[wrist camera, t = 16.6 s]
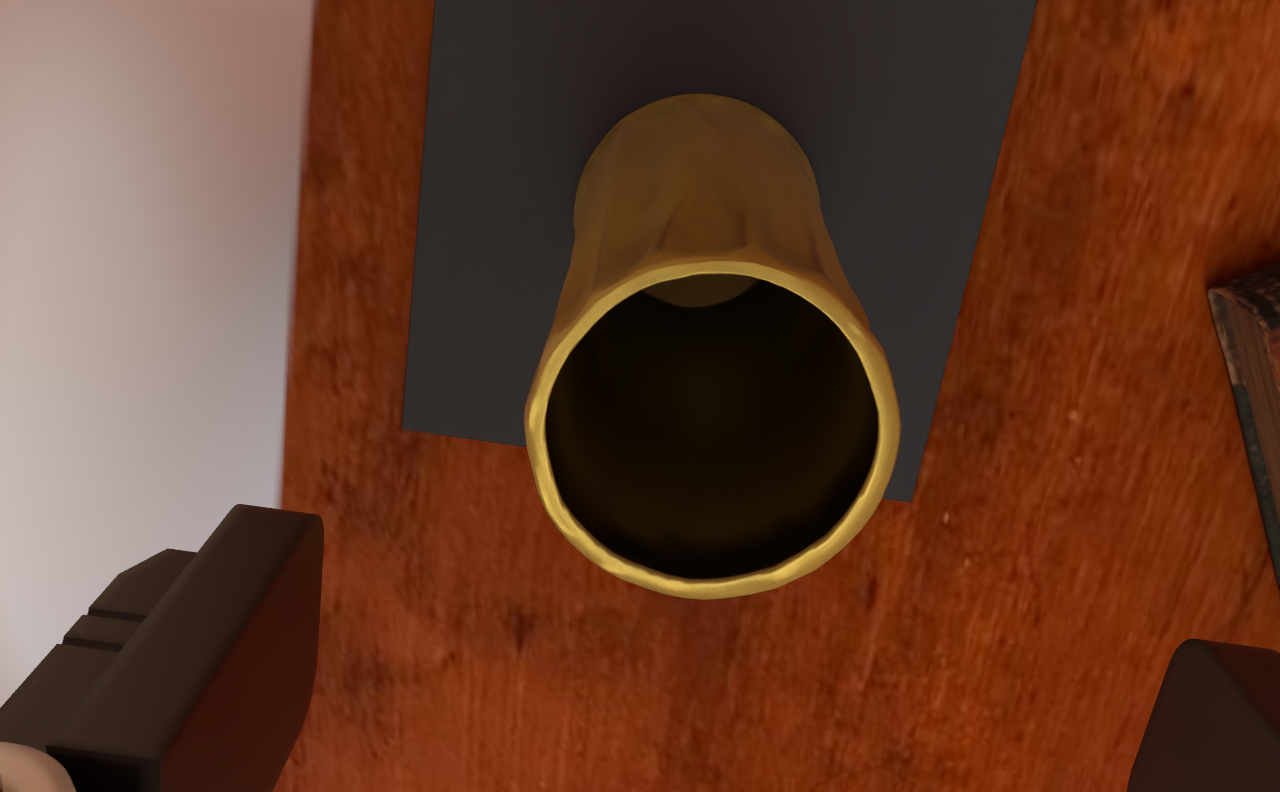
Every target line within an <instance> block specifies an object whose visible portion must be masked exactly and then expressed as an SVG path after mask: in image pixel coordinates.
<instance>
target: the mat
mask: <svg viewBox="0 0 1280 792" xmlns="http://www.w3.org/2000/svg"><path fill="white" fill-rule="evenodd" d="M1036 4H1037V0H435V5H434V18H433V31H432V43H431V56H430V69H429V82H428V95H427V108H426V121H425V133H424V146H423V159H422V172H421V185H420V198H419V211H418V223H417V236H416V249H415V262H414V275H413V288H412V301H411V314H410V326H409V339H408V352H407V365H406V378H405V391H404V404H403V416H402V429H405V430H412V431H419V432H426V433H433V434H440V435H447V436H454V437H461V438H467V439H474V440H481V441H488V442H495V443H502V444H509V445H516V446H523V447H527V445H526V436H525V426H524V412H525V404H526V400H527V397H528V394H529V391H530V388H531V385H532V382H533V379H534V376H535V373H536V370H537V367H538V365H539V362H540V359H541V357H542V353H543V350H544V347H545V344H546V342H547V339H548V336H549V334H550V331H551V328H552V324H553V321H554V317H555V313H556V310H557V306H558V302H559V299H560V296H561V292H562V289H563V285H564V282H565V279H566V276H567V273H568V270H569V268H570V262H571V256H572V251H573V246H574V241H575V230H574V224H573V218H574V205H575V199H576V192H577V188H578V184H579V181H580V177H581V174H582V172H583V170H584V168H585V165H586V163H587V161H588V160H589V158H590V157H591V155H592V154H593V152H594V151H595V149H596V148H597V146H598V145H599V144H600V142H601V141H602V140H603V138H604V137H605V136H606V135H607V134H608V132H609V131H610V130H611V129H612V128H613V127H614V126H615V125H616V124H617V123H618V122H619V121H620V120H622V119H623V118H624V117H625V116H627V115H629V114H631V113H632V112H634V111H636V110H638V109H640V108H642V107H644V106H646V105H648V104H650V103H653V102H655V101H658V100H660V99H664V98H668V97H672V96H677V95H683V94H696V93H699V94H713V95H720V96H726V97H730V98H734V99H737V100H740V101H743V102H746V103H748V104H750V105H752V106H755V107H757V108H758V109H760V110H762V111H763V112H765V113H767V114H768V115H769V116H771V117H772V118H773V119H775V120H776V121H777V122H778V123H780V124H781V125H782V126H783V127H784V128H785V129H786V130H787V131H788V132H789V133H790V135H791V136H792V137H793V138H794V139H795V140H796V142H797V143H798V144H799V146H800V147H801V149H802V150H803V152H804V153H805V155H806V156H807V158H808V161H809V163H810V165H811V167H812V170H813V173H814V175H815V179H816V183H817V187H818V192H819V197H820V206H821V212H822V216H823V219H824V223H825V226H826V229H827V232H828V234H829V237H830V239H831V241H832V243H833V245H834V247H835V251H836V254H837V257H838V260H839V263H840V266H841V268H842V270H843V273H844V275H845V277H846V279H847V281H848V283H849V285H850V287H851V289H852V290H853V292H854V293H855V295H856V296H857V298H858V300H859V301H860V303H861V305H862V307H863V310H864V312H865V314H866V316H867V319H868V322H869V327H870V332H871V333H872V334H873V335H874V336H875V337H876V339H877V340H878V342H879V343H880V345H881V346H882V348H883V349H884V352H885V355H886V358H887V361H888V365H889V368H890V371H891V374H892V378H893V382H894V386H895V391H896V395H897V400H898V405H899V410H900V419H901V434H900V444H899V449H898V454H897V458H896V462H895V465H894V468H893V472H892V475H891V478H890V480H889V483H888V485H887V488H886V490H885V492H884V495H883V497H882V498H883V499H890V500H897V501H904V502H911V501H912V497H913V494H914V490H915V486H916V482H917V478H918V474H919V470H920V466H921V462H922V458H923V454H924V450H925V446H926V442H927V438H928V434H929V430H930V426H931V422H932V418H933V414H934V410H935V406H936V402H937V398H938V394H939V390H940V386H941V382H942V378H943V374H944V370H945V366H946V362H947V358H948V354H949V350H950V346H951V342H952V338H953V334H954V330H955V326H956V322H957V318H958V314H959V311H960V307H961V303H962V299H963V295H964V291H965V287H966V283H967V279H968V275H969V271H970V267H971V263H972V259H973V255H974V251H975V247H976V243H977V239H978V235H979V231H980V227H981V223H982V219H983V215H984V211H985V207H986V203H987V199H988V195H989V191H990V187H991V183H992V179H993V175H994V171H995V167H996V163H997V159H998V155H999V151H1000V147H1001V143H1002V139H1003V135H1004V131H1005V127H1006V124H1007V120H1008V116H1009V112H1010V108H1011V104H1012V100H1013V96H1014V92H1015V88H1016V84H1017V80H1018V76H1019V72H1020V68H1021V64H1022V60H1023V56H1024V52H1025V48H1026V44H1027V40H1028V36H1029V32H1030V28H1031V24H1032V20H1033V16H1034V12H1035V8H1036Z"/></svg>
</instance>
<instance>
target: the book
mask: <svg viewBox="0 0 1280 792" xmlns="http://www.w3.org/2000/svg"><path fill="white" fill-rule="evenodd" d="M1208 297H1209V301H1210V305H1211V310H1212V315H1213V320H1214V323H1215V327H1216V330H1217V333H1218V337H1219V340H1220V343H1221V347H1222V350H1223V353H1224V357H1225V360H1226V363H1227V367H1228V370H1229V374H1230V379H1231V383H1232V387H1233V392H1234V396H1235V400H1236V404H1237V409H1238V413H1239V417H1240V422H1241V426H1242V430H1243V435H1244V439H1245V443H1246V447H1247V452H1248V456H1249V460H1250V465H1251V469H1252V473H1253V477H1254V482H1255V486H1256V490H1257V495H1258V499H1259V503H1260V508H1261V512H1262V516H1263V520H1264V525H1265V529H1266V533H1267V538H1268V542H1269V546H1270V550H1271V555H1272V559H1273V563H1274V568H1275V572H1276V576H1277V580H1278V584H1279V587H1280V264H1277V265H1274V266H1271V267H1268V268H1266V269H1263V270H1260V271H1257V272H1254V273H1252V274H1249V275H1246V276H1243V277H1240V278H1238V279H1235V280H1232V281H1229V282H1226V283H1224V284H1221V285H1218V286H1215V287H1213V288H1211V289H1209V290H1208Z"/></svg>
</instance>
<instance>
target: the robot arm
mask: <svg viewBox="0 0 1280 792" xmlns="http://www.w3.org/2000/svg"><path fill="white" fill-rule="evenodd" d="M323 546H324V529H323V522H322V519H321V517H320V516H319V515H316V514H309V513H302V512H294V511H287V510H280V509H273V508H266V507H258V506H251V505H244V504H237V505H235V506H234V507H233V508H232V509H231V510H230V512H229V513H228V514H227V515H226V517H225V518H224V519H223V521H222V522H221V523H220V525H219V526H218V527H217V528H216V530H215V531H214V532H213V533H212V535H211V536H210V537H209V539H208V540H207V541H206V542H205V543H204V545H203V546H202V548H201V549H200V550H199V551H198V552H197V553H196V552H188V551H182V550H175V549H166V550H164V551H162V552H160V553H158V554H156V555H154V556H152V557H150V558H149V559H147V560H145V561H143V562H141V563H139V564H137V565H135V566H133V567H132V568H129V569H128V570H126V571H124V572H122V573H120V574H118V575H117V577H116V578H115V579H114V580H113V581H112V582H111V583H110V585H109V586H108V587H107V588H106V589H105V590H104V591H103V593H102V594H101V595H100V596H99V597H98V598H97V599H96V600H95V601H94V603H93V604H92V605H91V606H90V607H89V611H88V614H87V615H82V616H81V617H80V619H79V620H78V621H77V622H76V623H75V624H74V625H73V626H72V628H71V629H70V630H69V631H68V632H67V633H66V634H65V636H64V639H63V642H62V644H56V646H55V647H54V648H53V649H52V650H51V651H50V653H49V654H48V655H47V656H46V657H45V658H44V659H43V660H42V661H41V663H40V664H39V665H38V666H37V667H36V668H35V669H34V671H33V672H32V673H31V674H30V675H29V676H28V677H27V678H26V680H25V681H24V682H23V683H22V684H21V685H20V687H18V689H17V690H16V691H15V692H14V693H13V694H12V695H11V697H10V698H9V699H8V700H7V701H6V702H5V704H4V705H3V706H2V707H1V708H0V792H272V791H273V789H274V787H275V785H276V782H277V780H278V778H279V776H280V774H281V772H282V770H283V768H284V766H285V763H286V761H287V759H288V757H289V755H290V753H291V751H292V749H293V747H294V744H295V742H296V740H297V738H298V736H299V734H300V732H301V729H302V727H303V724H304V721H305V719H306V715H307V712H308V709H309V705H310V701H311V697H312V692H313V687H314V682H315V676H316V668H317V656H318V638H319V620H320V601H321V583H322V565H323ZM1127 792H1280V653H1278V652H1276V651H1275V650H1271V649H1265V648H1258V647H1251V646H1244V645H1237V644H1229V643H1222V642H1215V641H1208V640H1201V639H1189V640H1186V641H1184V642H1183V643H1182V644H1181V645H1180V646H1179V647H1178V648H1177V649H1176V651H1175V652H1174V654H1173V656H1172V658H1171V660H1170V663H1169V665H1168V668H1167V671H1166V674H1165V677H1164V680H1163V682H1162V685H1161V688H1160V691H1159V694H1158V696H1157V699H1156V702H1155V705H1154V708H1153V711H1152V713H1151V716H1150V719H1149V722H1148V725H1147V728H1146V730H1145V733H1144V736H1143V739H1142V742H1141V745H1140V747H1139V750H1138V753H1137V756H1136V759H1135V762H1134V764H1133V767H1132V770H1131V774H1130V777H1129V782H1128V788H1127Z"/></svg>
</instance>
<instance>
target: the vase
mask: <svg viewBox="0 0 1280 792" xmlns="http://www.w3.org/2000/svg"><path fill="white" fill-rule="evenodd" d="M573 224H574V230H575V241H574V246H573V251H572V256H571V262H570V268H569V270H568V273H567V276H566V279H565V282H564V285H563V289H562V292H561V296H560V299H559V302H558V306H557V310H556V313H555V317H554V321H553V324H552V328H551V331H550V334H549V336H548V339H547V342H546V344H545V347H544V350H543V353H542V357H541V359H540V362H539V365H538V367H537V370H536V373H535V376H534V379H533V382H532V385H531V388H530V391H529V394H528V397H527V400H526V404H525V412H524V426H525V436H526V445H527V450H528V454H529V458H530V462H531V466H532V470H533V474H534V478H535V482H536V486H537V490H538V493H539V495H540V498H541V500H542V503H543V505H544V508H545V510H546V512H547V513H548V515H549V516H550V518H551V519H552V521H553V522H554V524H555V525H556V527H557V528H558V529H559V530H560V531H561V533H562V534H563V535H564V536H565V537H566V538H567V539H568V541H569V542H570V543H571V544H572V545H573V546H574V547H576V548H577V549H578V550H579V551H580V552H581V553H582V554H583V555H584V556H585V557H586V558H588V559H589V560H591V561H592V562H593V563H595V564H596V565H597V566H599V567H600V568H602V569H603V570H605V571H607V572H608V573H610V574H612V575H614V576H616V577H618V578H620V579H622V580H625V581H628V582H631V583H633V584H636V585H639V586H642V587H645V588H648V589H651V590H653V591H656V592H659V593H662V594H667V595H672V596H678V597H683V598H693V599H702V600H704V599H721V598H730V597H736V596H743V595H749V594H754V593H758V592H762V591H767V590H771V589H775V588H778V587H780V586H782V585H784V584H787V583H789V582H791V581H793V580H795V579H797V578H799V577H801V576H804V575H806V574H808V573H810V572H812V571H814V570H816V569H818V568H819V567H820V566H821V565H823V564H824V563H825V562H826V561H828V560H829V559H830V558H832V557H833V556H834V555H835V554H837V553H838V552H839V551H840V550H842V549H843V548H844V547H845V546H846V545H847V544H848V543H849V542H850V541H851V540H852V539H853V538H854V537H855V536H856V535H857V534H858V533H859V532H860V531H861V529H862V528H863V527H864V525H865V524H866V523H867V521H868V520H869V519H870V517H871V516H872V515H873V513H874V511H875V510H876V508H877V506H878V504H879V502H880V501H881V499H882V497H883V495H884V492H885V490H886V488H887V485H888V483H889V480H890V478H891V475H892V472H893V468H894V465H895V462H896V458H897V454H898V449H899V444H900V434H901V419H900V410H899V405H898V400H897V395H896V391H895V386H894V382H893V378H892V374H891V371H890V368H889V365H888V361H887V358H886V355H885V352H884V349H883V348H882V346H881V345H880V343H879V342H878V340H877V339H876V337H875V336H874V335H873V334H872V333H871V332H870V327H869V322H868V319H867V316H866V314H865V312H864V310H863V307H862V305H861V303H860V301H859V300H858V298H857V296H856V295H855V293H854V292H853V290H852V289H851V287H850V285H849V283H848V281H847V279H846V277H845V275H844V273H843V270H842V268H841V266H840V263H839V260H838V257H837V254H836V251H835V247H834V245H833V243H832V241H831V239H830V237H829V234H828V232H827V229H826V226H825V223H824V219H823V216H822V212H821V206H820V197H819V192H818V187H817V183H816V179H815V175H814V173H813V170H812V167H811V165H810V163H809V161H808V158H807V156H806V155H805V153H804V152H803V150H802V149H801V147H800V146H799V144H798V143H797V142H796V140H795V139H794V138H793V137H792V136H791V135H790V133H789V132H788V131H787V130H786V129H785V128H784V127H783V126H782V125H781V124H780V123H778V122H777V121H776V120H775V119H773V118H772V117H771V116H769V115H768V114H767V113H765V112H763V111H762V110H760V109H758V108H757V107H755V106H752V105H750V104H748V103H746V102H743V101H740V100H737V99H734V98H730V97H726V96H720V95H713V94H699V93H696V94H683V95H677V96H672V97H668V98H664V99H660V100H658V101H655V102H653V103H650V104H648V105H646V106H644V107H642V108H640V109H638V110H636V111H634V112H632V113H631V114H629V115H627V116H625V117H624V118H623V119H622V120H620V121H619V122H618V123H617V124H616V125H615V126H614V127H613V128H612V129H611V130H610V131H609V132H608V134H607V135H606V136H605V137H604V138H603V140H602V141H601V142H600V144H599V145H598V146H597V148H596V149H595V151H594V152H593V154H592V155H591V157H590V158H589V160H588V161H587V163H586V165H585V168H584V170H583V172H582V174H581V177H580V181H579V184H578V188H577V192H576V199H575V205H574V218H573Z"/></svg>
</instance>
